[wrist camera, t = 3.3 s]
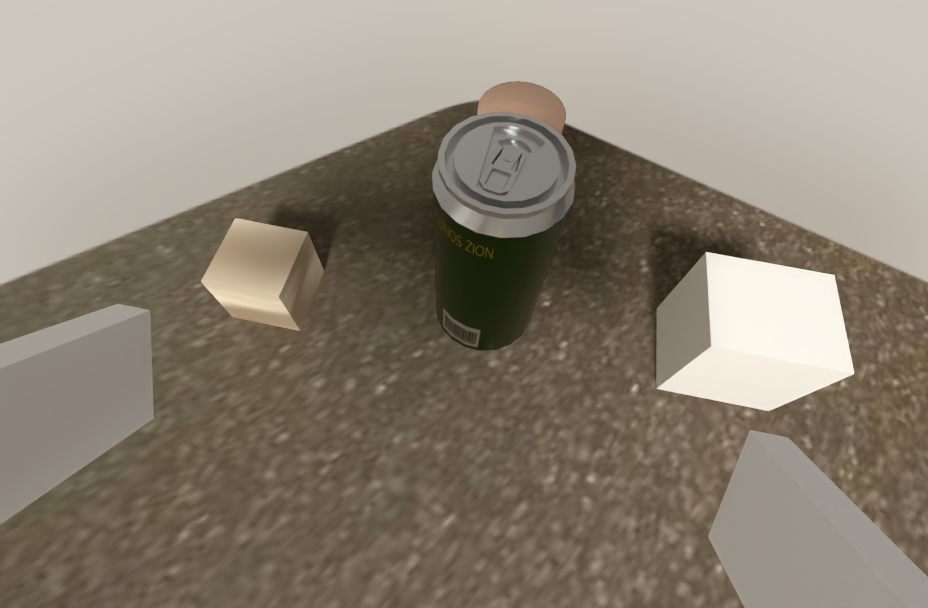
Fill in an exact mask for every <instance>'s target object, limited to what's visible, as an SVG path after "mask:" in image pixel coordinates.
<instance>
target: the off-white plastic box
mask: <svg viewBox="0 0 928 608" xmlns="http://www.w3.org/2000/svg"><path fill="white" fill-rule="evenodd" d="M853 374H854V369H853V364H852V359H851V355H850V350H849V345H848V340H847V335H846V330H845V325H844V320H843V315H842V310H841V306H840V301H839V296H838V291H837V286H836V281H835V276H834V275H831V274H825V273H820V272H814V271H809V270H803V269H798V268H792V267H787V266H781V265H776V264H770V263H765V262H759V261H754V260H748V259H742V258H737V257H731V256H726V255H720V254H715V253H709V252H706V253H705V254H704V255H703V256H702V257H701V258H700V259H699V261H698V262H697V263H696V264H695V265H694V266H693V267H692V269H691V270H690V271H689V272H688V273H687V274H686V275H685V277H684V278H683V279H682V280H681V281H680V282H679V283H678V285H677V286H676V287H675V288H674V289H673V290H672V292H671V293H670V294H669V295H668V296H667V297H666V298H665V300H664V301H663V302H662V303H661V304H660V305H659V306H658V308H657V334H656V389H661V390H666V391H671V392H676V393H681V394H686V395H691V396H696V397H701V398H706V399H711V400H716V401H721V402H726V403H731V404H736V405H741V406H746V407H751V408H756V409H761V410H766V411H770V410H772V409H775V408H777V407H779V406H782V405H784V404H786V403H789V402H791V401H793V400H795V399H798V398H800V397H802V396H805V395H807V394H809V393H812V392H814V391H816V390H818V389H821V388H823V387H825V386H828V385H830V384H832V383H834V382H837V381H839V380H841V379H844V378H846V377H848V376H851V375H853Z"/></svg>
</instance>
